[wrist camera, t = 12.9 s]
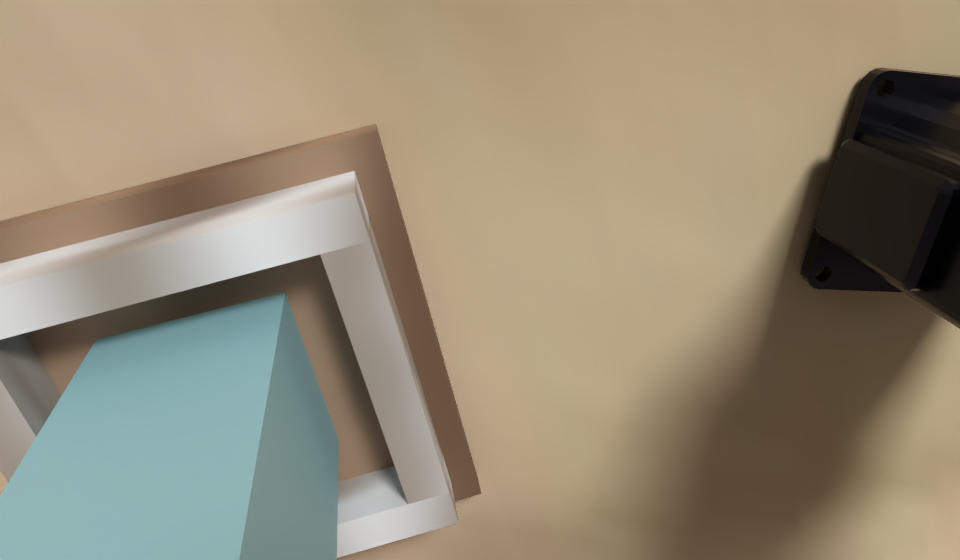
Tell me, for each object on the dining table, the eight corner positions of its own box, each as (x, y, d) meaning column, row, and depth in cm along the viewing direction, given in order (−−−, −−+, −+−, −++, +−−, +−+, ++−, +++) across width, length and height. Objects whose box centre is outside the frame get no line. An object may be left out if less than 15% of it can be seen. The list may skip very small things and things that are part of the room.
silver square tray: (376, 124, 19) (379, 151, 16) (477, 476, 24) (491, 535, 22) (-98, 246, 18) (-163, 293, 16) (115, 579, 24) (89, 650, 21)
